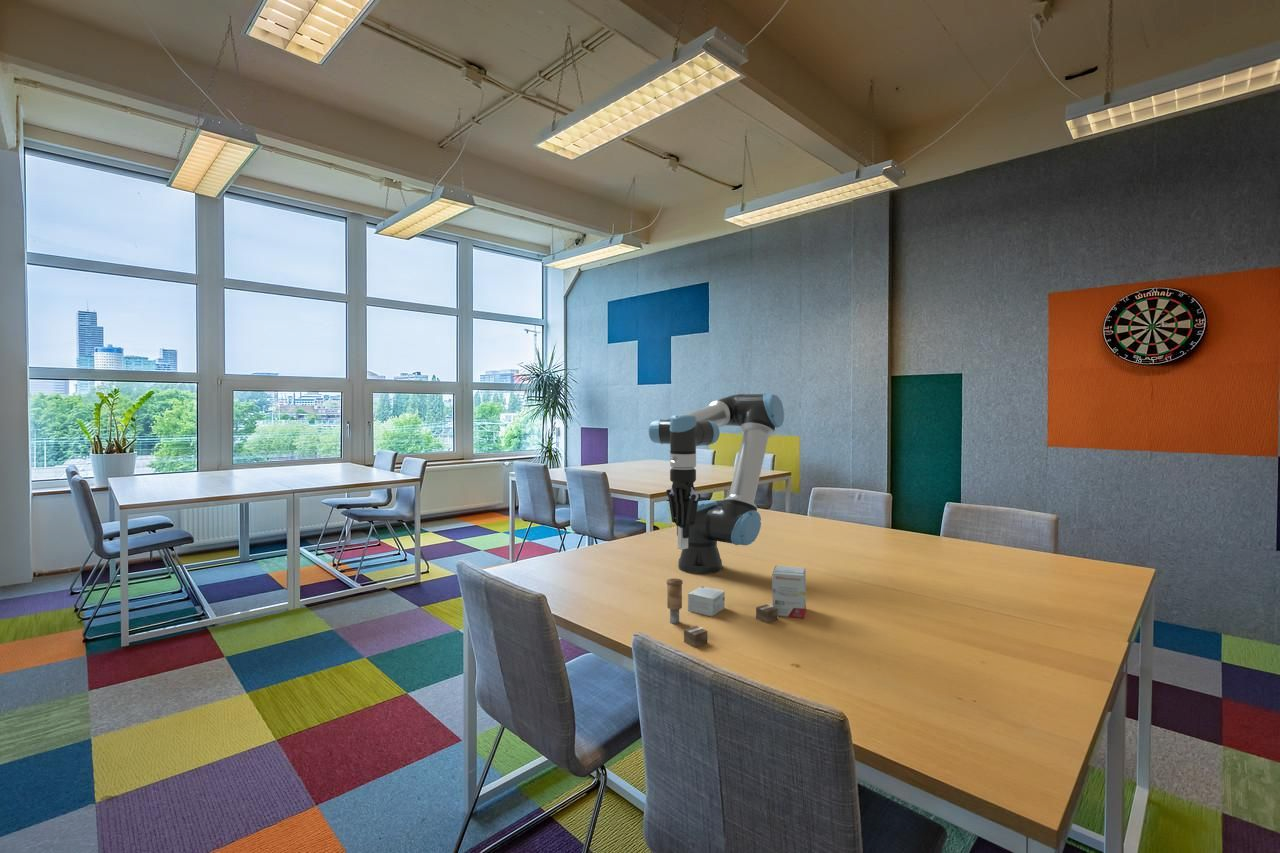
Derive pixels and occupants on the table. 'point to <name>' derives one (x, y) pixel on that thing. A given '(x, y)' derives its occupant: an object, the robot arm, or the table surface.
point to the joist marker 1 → (695, 636)
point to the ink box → (789, 591)
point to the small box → (706, 601)
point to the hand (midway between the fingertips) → (682, 548)
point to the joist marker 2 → (766, 613)
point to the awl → (674, 598)
